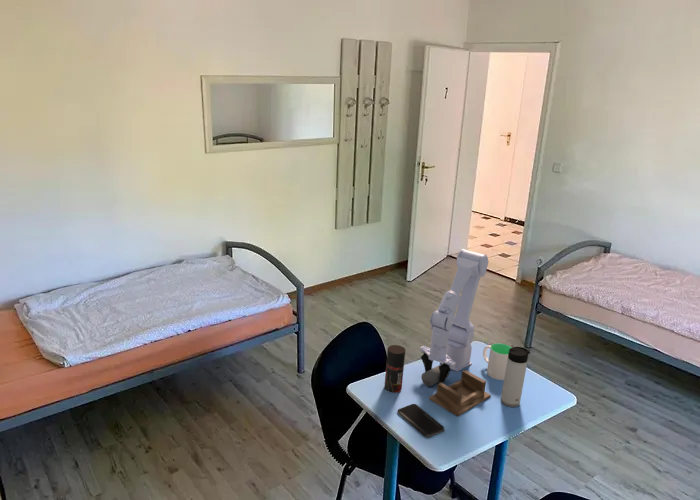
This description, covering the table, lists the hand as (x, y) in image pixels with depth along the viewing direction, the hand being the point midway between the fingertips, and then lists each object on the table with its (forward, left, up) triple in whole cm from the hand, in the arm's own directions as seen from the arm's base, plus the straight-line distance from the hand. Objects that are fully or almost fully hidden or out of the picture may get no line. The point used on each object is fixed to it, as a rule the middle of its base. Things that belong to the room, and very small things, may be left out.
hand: (435, 377), depth 196 cm
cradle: (+1, +12, -1) cm, 12 cm away
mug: (-23, +9, -2) cm, 25 cm away
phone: (+21, +12, -2) cm, 25 cm away
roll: (0, 0, -2) cm, 2 cm away
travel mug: (-11, +24, -2) cm, 26 cm away
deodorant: (+15, -6, -2) cm, 16 cm away
